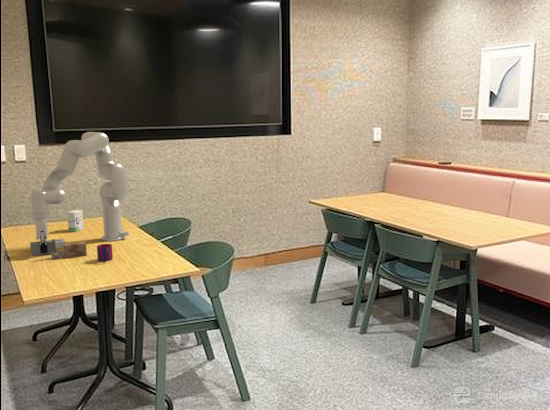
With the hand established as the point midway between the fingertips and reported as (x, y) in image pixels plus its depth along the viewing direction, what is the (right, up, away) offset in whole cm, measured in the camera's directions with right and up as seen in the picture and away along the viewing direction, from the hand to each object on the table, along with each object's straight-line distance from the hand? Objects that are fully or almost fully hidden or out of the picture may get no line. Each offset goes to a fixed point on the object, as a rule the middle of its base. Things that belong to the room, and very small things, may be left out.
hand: (44, 250), depth 259 cm
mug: (+35, -3, -13) cm, 38 cm away
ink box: (-4, +7, +53) cm, 53 cm away
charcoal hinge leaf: (+2, -1, +1) cm, 2 cm away
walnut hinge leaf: (+15, -2, -6) cm, 16 cm away
